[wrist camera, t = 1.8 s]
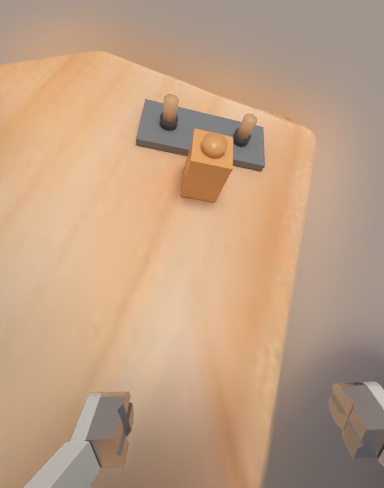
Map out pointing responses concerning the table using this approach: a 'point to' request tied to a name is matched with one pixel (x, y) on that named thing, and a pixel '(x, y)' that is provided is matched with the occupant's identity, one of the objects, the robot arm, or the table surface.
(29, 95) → the table surface
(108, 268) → the table surface
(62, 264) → the table surface
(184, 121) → the mounting plate
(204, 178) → the orange toy brick
